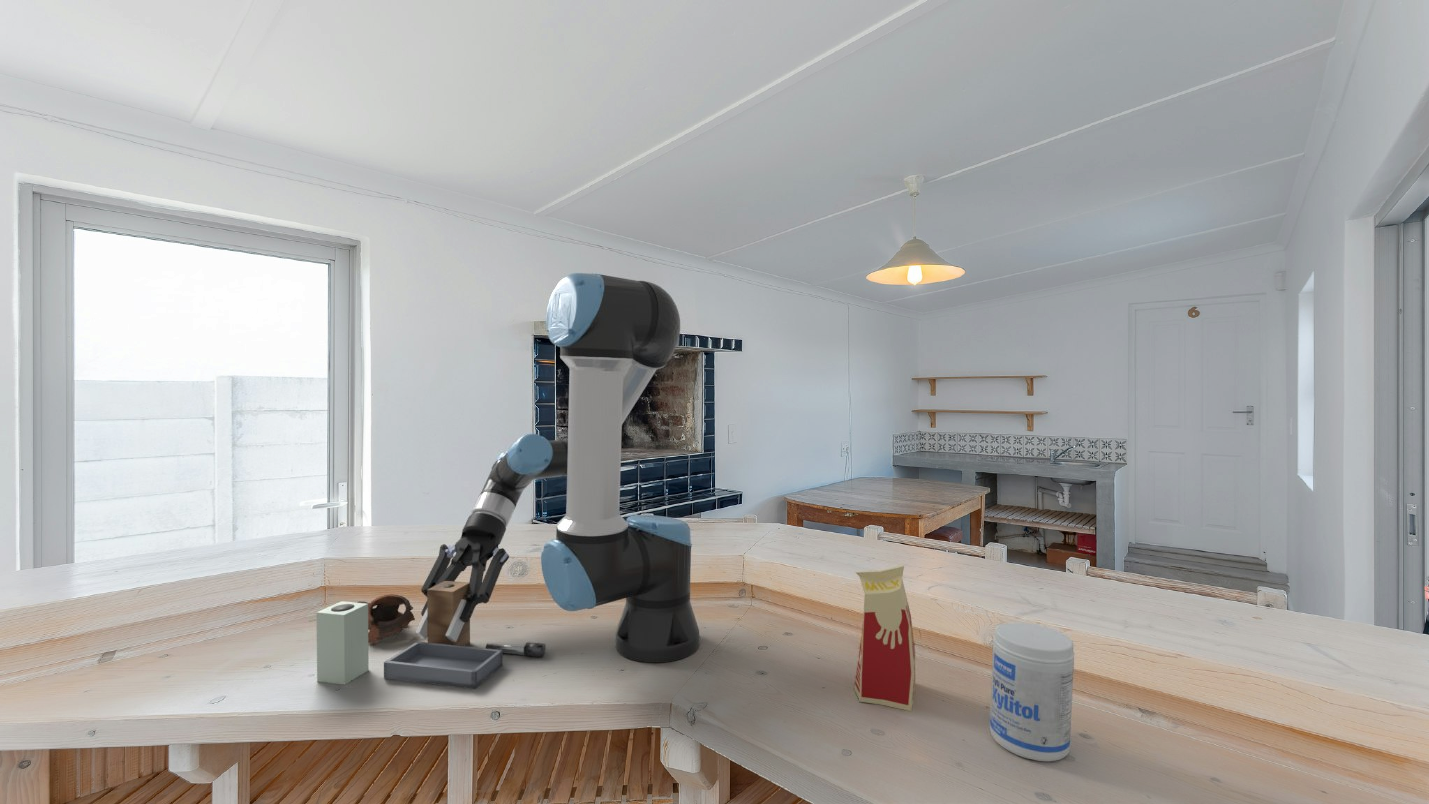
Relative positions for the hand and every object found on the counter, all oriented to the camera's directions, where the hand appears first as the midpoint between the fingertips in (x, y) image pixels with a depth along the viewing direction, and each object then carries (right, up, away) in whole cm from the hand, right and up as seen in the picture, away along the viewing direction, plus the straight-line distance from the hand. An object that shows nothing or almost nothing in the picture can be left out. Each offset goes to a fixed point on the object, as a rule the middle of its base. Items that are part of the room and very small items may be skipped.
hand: (435, 637), depth 105 cm
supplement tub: (+90, -5, -24) cm, 93 cm away
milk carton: (+74, -5, -10) cm, 75 cm away
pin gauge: (+13, -3, +1) cm, 14 cm away
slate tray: (+4, -3, -6) cm, 8 cm away
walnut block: (+1, -3, +4) cm, 5 cm away
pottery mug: (-14, -3, +9) cm, 17 cm away
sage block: (-12, -3, -7) cm, 14 cm away
